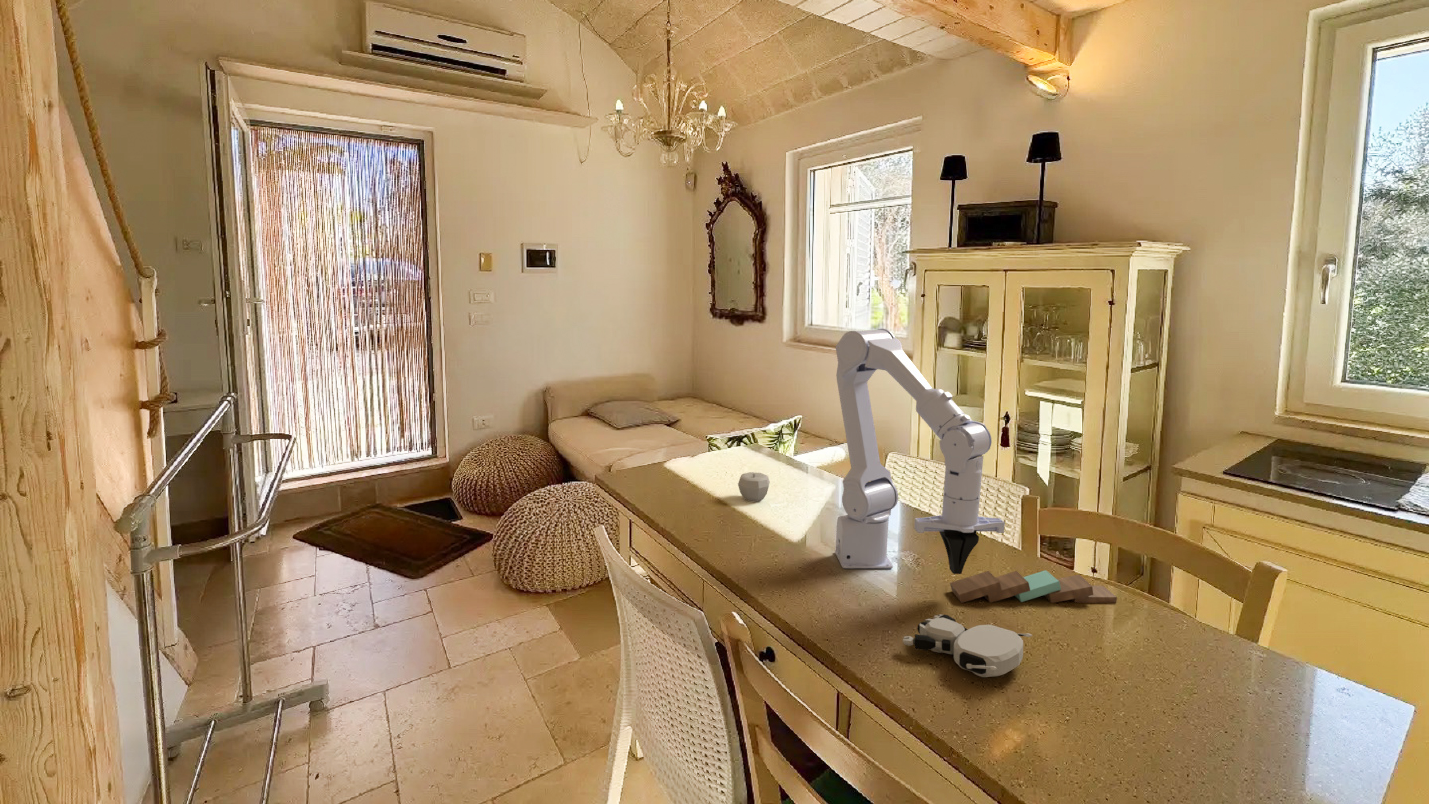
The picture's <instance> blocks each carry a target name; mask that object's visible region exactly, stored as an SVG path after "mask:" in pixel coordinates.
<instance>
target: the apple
mask: <svg viewBox="0 0 1429 804" xmlns="http://www.w3.org/2000/svg"><path fill="white" fill-rule="evenodd" d="M737 486H738V490H739V492H740V494H741V496H742V498H743V499H745V501H748V502H754V503H755V502H756V503H757V502H762V501H763V500H764V499H765V497H766V495H767V494H768V491H769V487H770V478H769V476H768V475H767V474H764V473H761V472H755V471H753V472H745V473H742V474H741V475H740V477H739V480H738V483H737Z"/></svg>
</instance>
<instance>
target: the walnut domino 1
mask: <svg viewBox="0 0 1429 804" xmlns="http://www.w3.org/2000/svg"><path fill="white" fill-rule="evenodd" d="M995 577H996V576H995V575H994V574H993V573H992V572H991V571H990V570H986V571H983V572H980V573H976V574H973V575H970V576H967V577H964V578H961V579H959V580H955V581H951V582H949V584H950V588H951V591H952V593H953V594H954V595H955V597H956V598H957V599H958V600H959V602H960V603H961V604H963V603H966V602H971V601H973V600H975V599H976V600H977V599H979V598H982V597H984V596H986V595H989V594H992V593H995V592H998V591H1001V590H1002V589H1001V586H1000V582H999V581H998V580H997V579H996V578H995Z"/></svg>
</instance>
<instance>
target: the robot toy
mask: <svg viewBox="0 0 1429 804" xmlns="http://www.w3.org/2000/svg"><path fill="white" fill-rule="evenodd" d="M917 632H918V634H917V633H915V635H914V637H912V636H910V635H908V636H907V635H904V636H903V639H902V644H903V645H905V646H908V647H910V646H914V649H915V650H921V651H929V650H930V651H932V652H935V653H938V654H940V653H943V654H947V655H953V660H954V662H955V663H956V664H957V665H958V667H960V668H961V669H963V670H965V671H969V672H972V673H973V674H974V675H976V676H978V677H980V678H988V677H999V676H1002V675H1005V674H1007V673H1008V672H1010V671H1012V670H1013V669H1015V668H1017V667H1018V666H1020V664H1021V662H1022V661H1023V658H1024V657H1023V656H1024V640H1023V638H1022V637H1026V638H1031V637H1032V636H1033V634H1031V633H1017V632H1015V631H1014V630H1010V629H1008V628H1007V629H1006V628H1002V627H999V626H996V625H993V624H979V625H975V626H972V627H970V628H966V627H965V626H963V624H961V623H958V622H957V621H956V619H955V618H953V617H952V616H950V615H948V614H942V613H940V614H937V615H934V616H933V618H927V619H926V618H925V619H924V621H921V622H919V624H918V625H917Z"/></svg>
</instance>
